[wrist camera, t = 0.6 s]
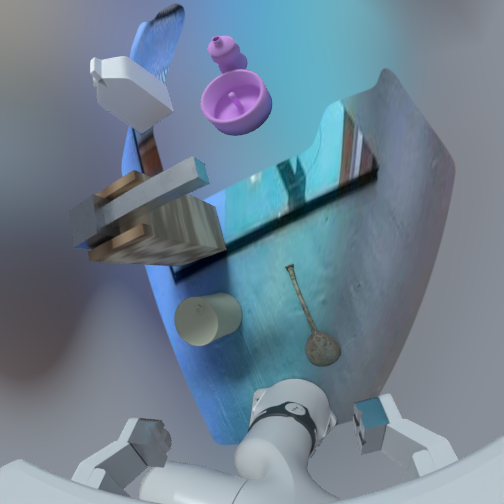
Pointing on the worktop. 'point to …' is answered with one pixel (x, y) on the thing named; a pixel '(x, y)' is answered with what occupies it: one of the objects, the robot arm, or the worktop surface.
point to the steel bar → (133, 203)
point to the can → (207, 318)
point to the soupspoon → (317, 336)
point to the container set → (234, 92)
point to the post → (162, 231)
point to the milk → (130, 92)
